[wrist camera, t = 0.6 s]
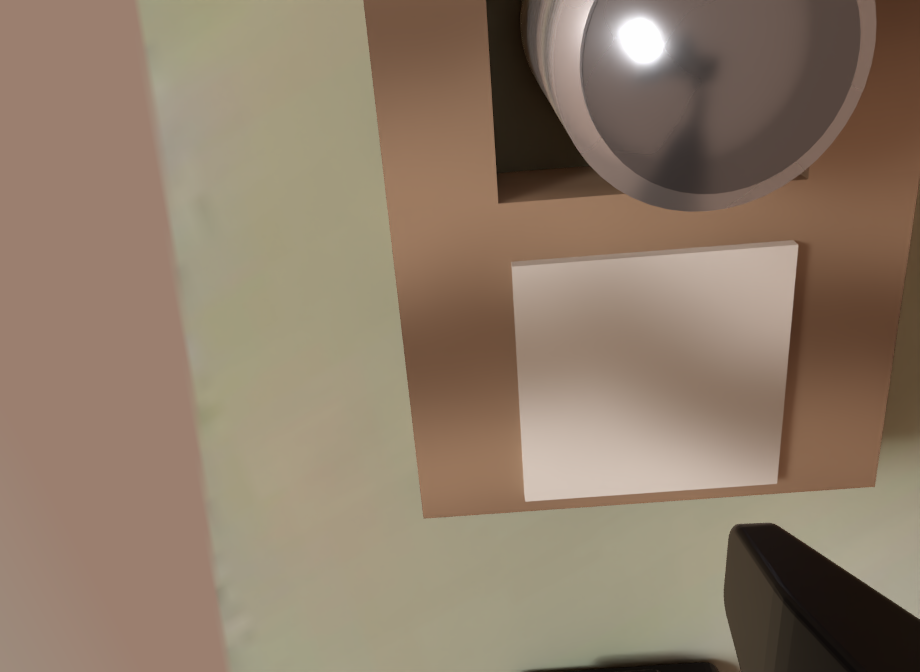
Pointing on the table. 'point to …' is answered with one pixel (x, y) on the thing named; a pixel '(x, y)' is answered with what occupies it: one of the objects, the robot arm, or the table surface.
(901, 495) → the table surface
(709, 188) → the plug
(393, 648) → the table surface
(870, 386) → the block
